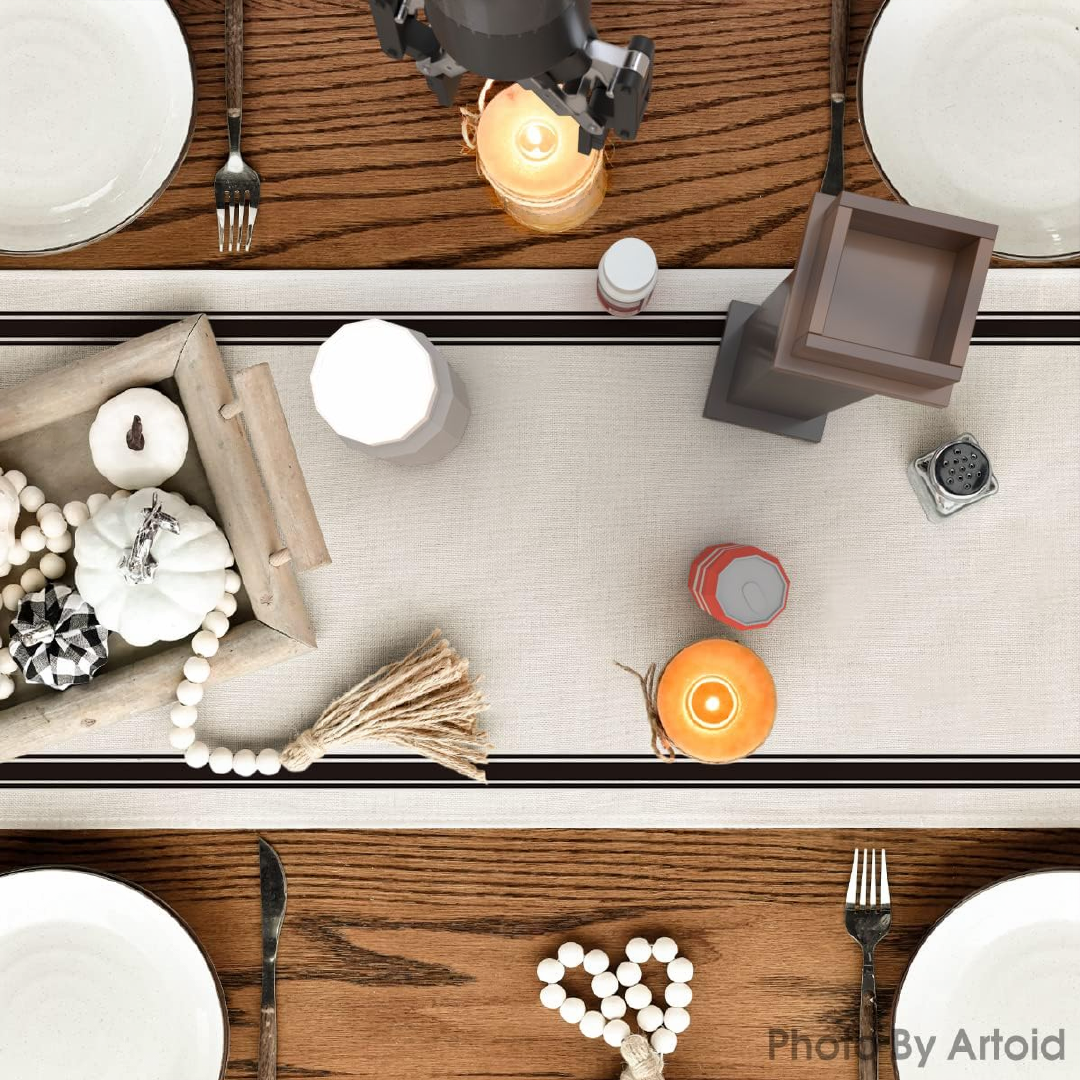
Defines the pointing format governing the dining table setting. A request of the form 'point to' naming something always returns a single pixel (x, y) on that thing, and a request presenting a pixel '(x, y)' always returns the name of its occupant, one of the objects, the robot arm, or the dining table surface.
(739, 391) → the pedestal
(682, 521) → the dining table surface
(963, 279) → the socket cup
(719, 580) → the beverage can
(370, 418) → the jar
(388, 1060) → the dining table surface
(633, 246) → the pill bottle
